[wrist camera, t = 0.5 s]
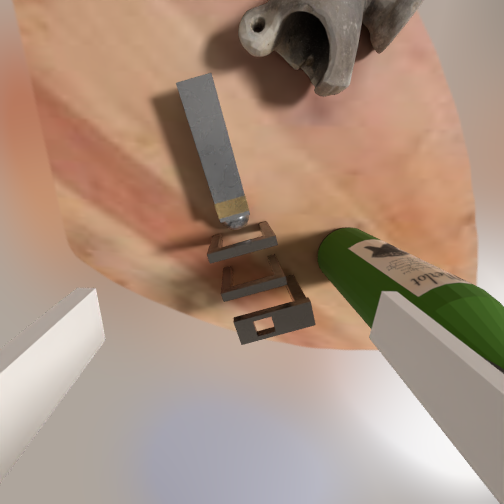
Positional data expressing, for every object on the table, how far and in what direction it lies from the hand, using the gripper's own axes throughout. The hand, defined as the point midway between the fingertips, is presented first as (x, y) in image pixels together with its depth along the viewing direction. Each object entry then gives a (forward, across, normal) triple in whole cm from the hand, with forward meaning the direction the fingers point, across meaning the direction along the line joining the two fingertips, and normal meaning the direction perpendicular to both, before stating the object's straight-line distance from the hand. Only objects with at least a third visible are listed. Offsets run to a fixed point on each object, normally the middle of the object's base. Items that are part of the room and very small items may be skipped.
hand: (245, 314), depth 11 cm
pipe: (+26, +10, +21) cm, 35 cm away
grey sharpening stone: (+25, -3, +8) cm, 27 cm away
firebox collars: (+25, +3, -8) cm, 26 cm away
